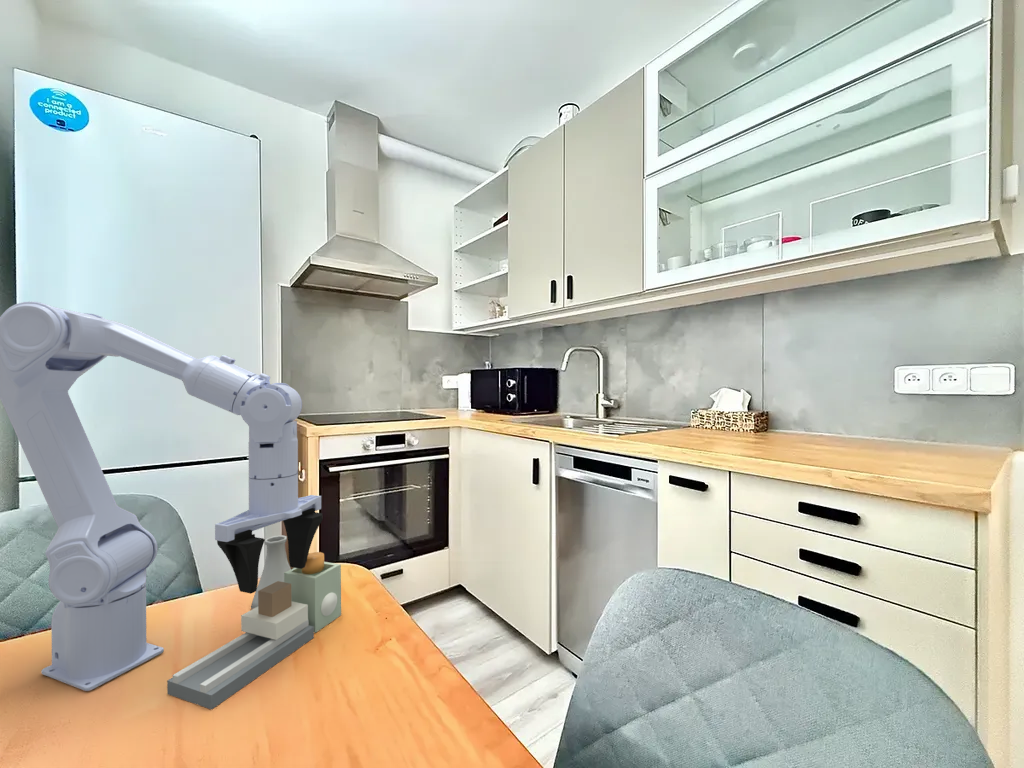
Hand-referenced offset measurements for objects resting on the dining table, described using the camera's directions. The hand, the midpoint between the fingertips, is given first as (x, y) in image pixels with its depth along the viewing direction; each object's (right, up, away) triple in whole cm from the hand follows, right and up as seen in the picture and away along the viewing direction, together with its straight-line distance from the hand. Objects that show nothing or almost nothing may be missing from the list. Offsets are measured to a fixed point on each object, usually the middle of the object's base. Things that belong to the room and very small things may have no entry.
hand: (274, 578), depth 58 cm
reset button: (+2, -1, +6) cm, 7 cm away
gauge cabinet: (+2, -9, +6) cm, 11 cm away
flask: (-6, -9, +12) cm, 16 cm away
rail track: (-1, -9, -4) cm, 10 cm away
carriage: (0, -6, 0) cm, 6 cm away
